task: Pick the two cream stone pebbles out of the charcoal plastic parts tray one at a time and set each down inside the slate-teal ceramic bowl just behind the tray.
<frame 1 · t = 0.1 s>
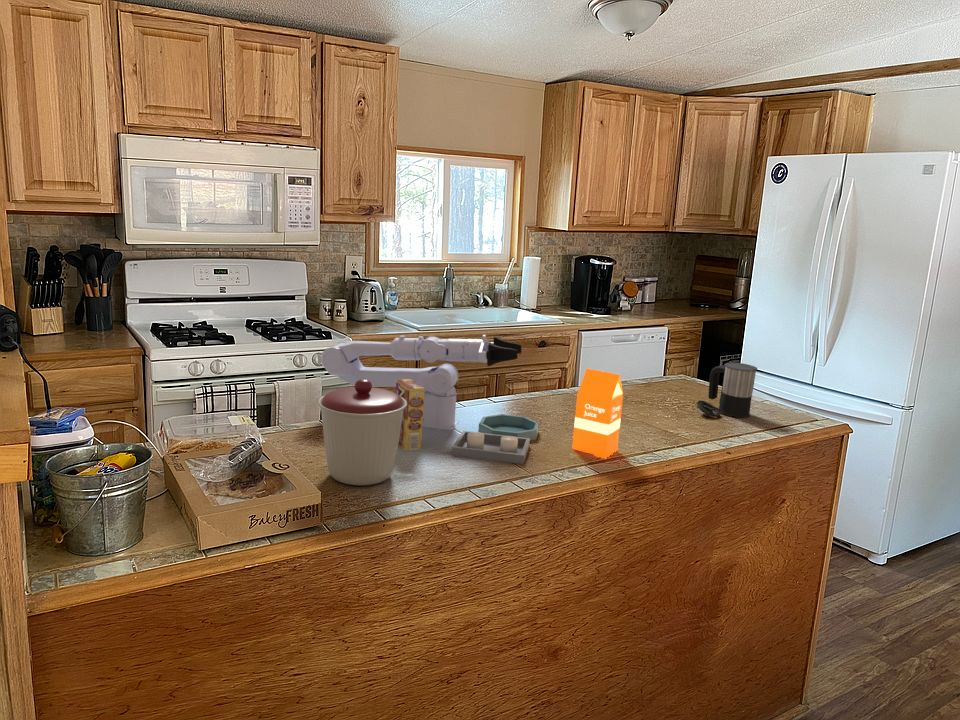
hand: (519, 351, 183), 22 cm above the table, tool horizontal, fingers open, 7 cm apart
canister: (360, 477, 154), on the table
bowl: (508, 434, 187), on the table
orange juice: (594, 451, 179), on the table
tray: (491, 452, 173), on the table
candy box: (407, 446, 175), on the table
pebble a: (475, 448, 174), resting on tray
pebble b: (508, 452, 173), resting on tray
milk frother: (723, 415, 219), on the table
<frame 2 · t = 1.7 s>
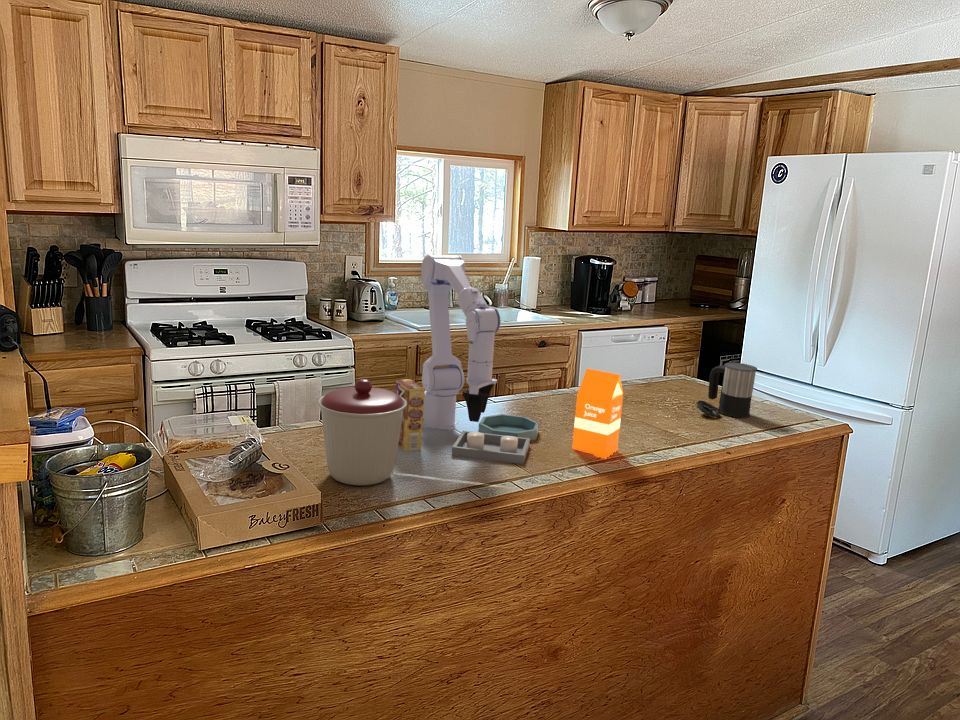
hand: (477, 416, 172), 8 cm above the table, tool pointing down, fingers open, 7 cm apart
nothing on the table moved.
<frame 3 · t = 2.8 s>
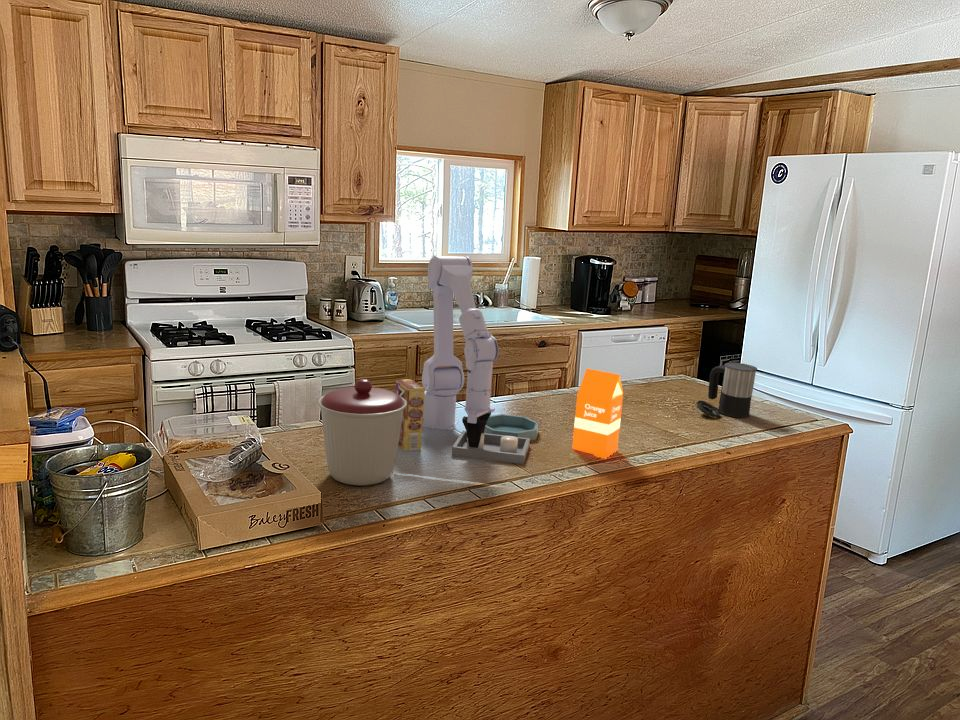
hand: (475, 443, 174), 2 cm above the table, tool pointing down, fingers closed on pebble a, 4 cm apart
pebble a: (475, 448, 174), resting on tray, touching gripper
everything else where it was.
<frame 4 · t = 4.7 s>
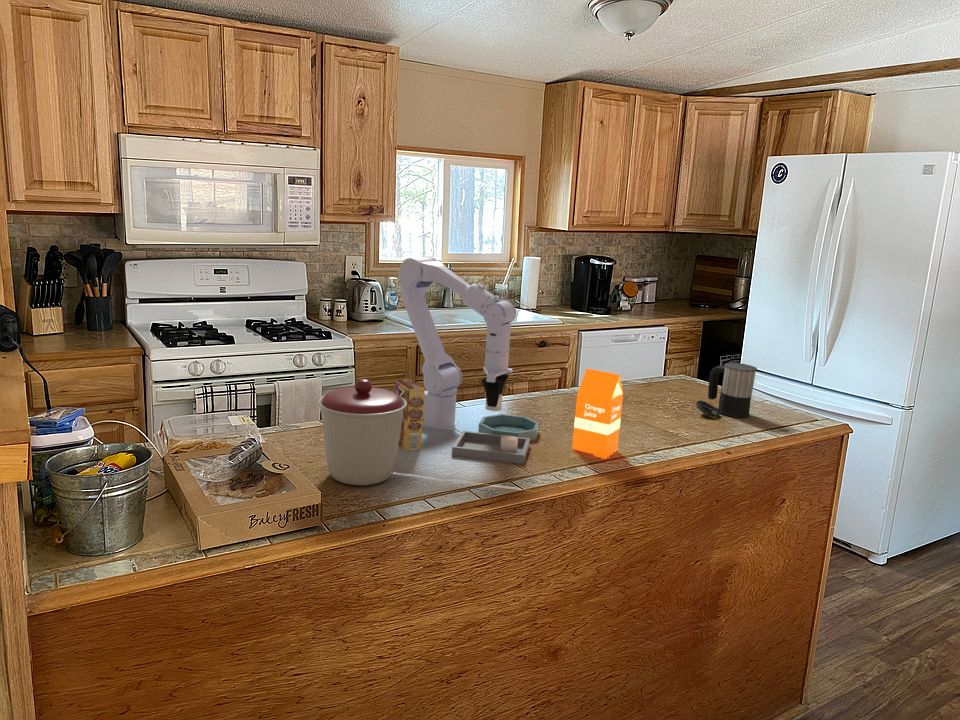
hand: (493, 403, 182), 9 cm above the table, tool pointing down, fingers closed on pebble a, 4 cm apart
pebble a: (493, 408, 182), point 8 cm above the table, touching gripper
everything else where it was.
when the fingers open (3 cm above the table, at t = 6.5 s): pebble a drops 2 cm, resting on bowl.
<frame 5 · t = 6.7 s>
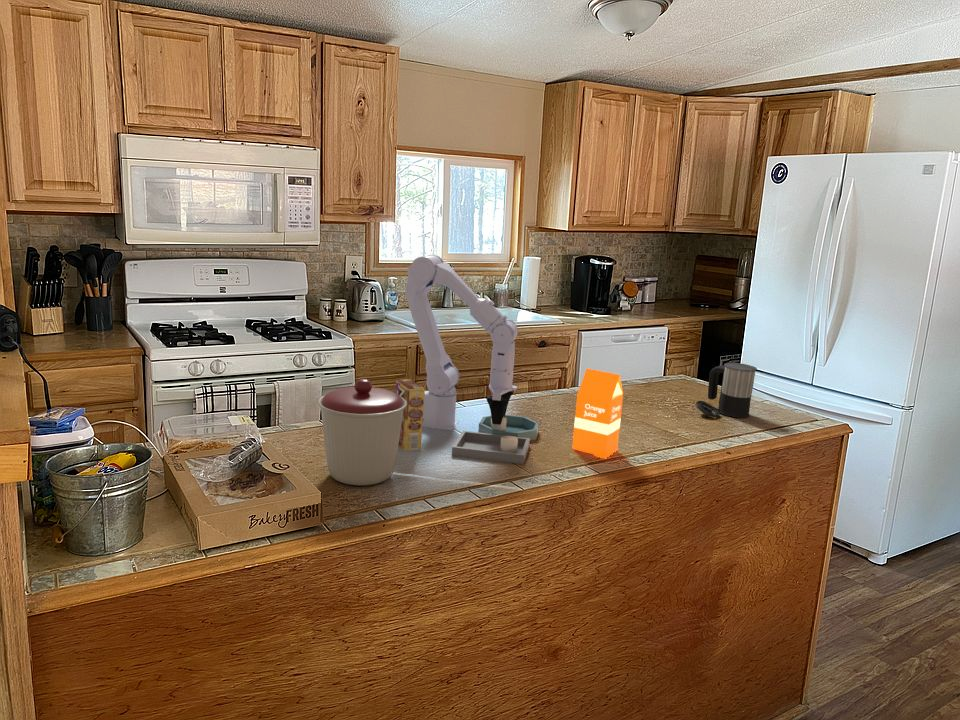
hand: (498, 420, 187), 3 cm above the table, tool pointing down, fingers open, 6 cm apart
pebble a: (497, 431, 188), point 1 cm above the table, touching bowl
everything else where it was.
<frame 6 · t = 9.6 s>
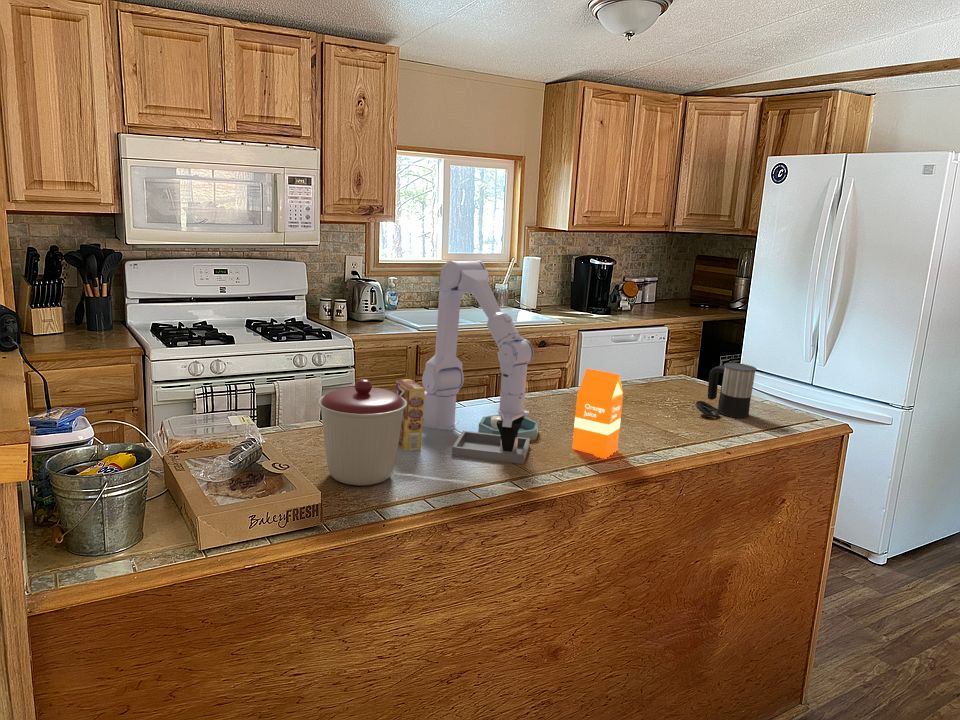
hand: (508, 447, 172), 2 cm above the table, tool pointing down, fingers closed on pebble b, 4 cm apart
pebble b: (508, 452, 173), resting on tray, touching gripper
everything else where it was.
when the fingers open (3 cm above the table, at t = 13.2 s): pebble b drops 2 cm, resting on bowl.
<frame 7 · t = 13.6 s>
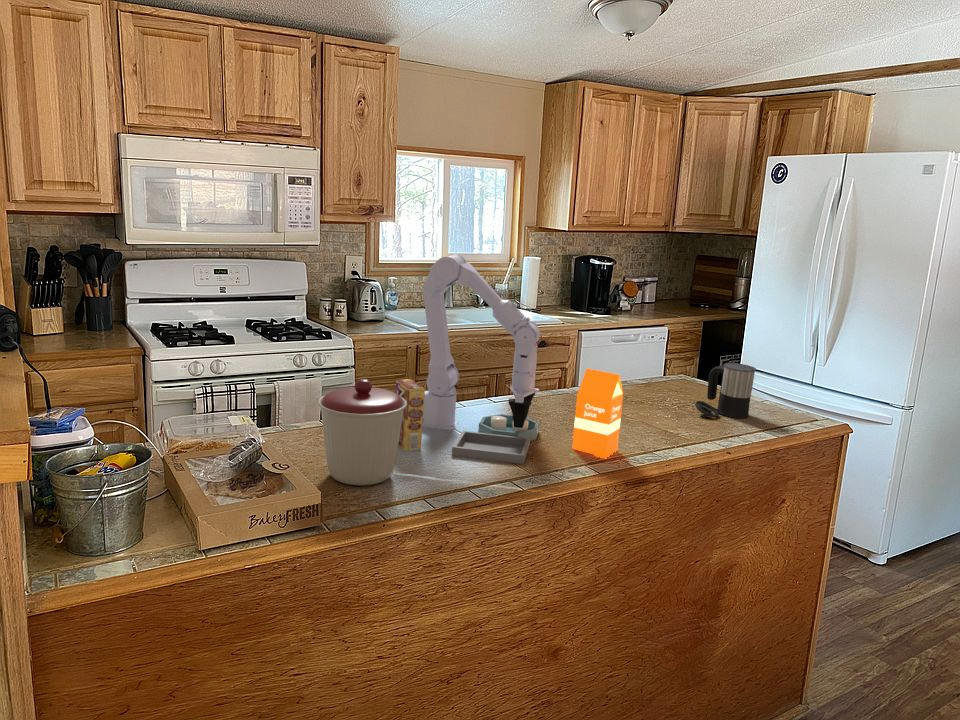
hand: (520, 422, 186), 3 cm above the table, tool pointing down, fingers open, 7 cm apart
pebble b: (519, 433, 187), resting on bowl
everything else where it was.
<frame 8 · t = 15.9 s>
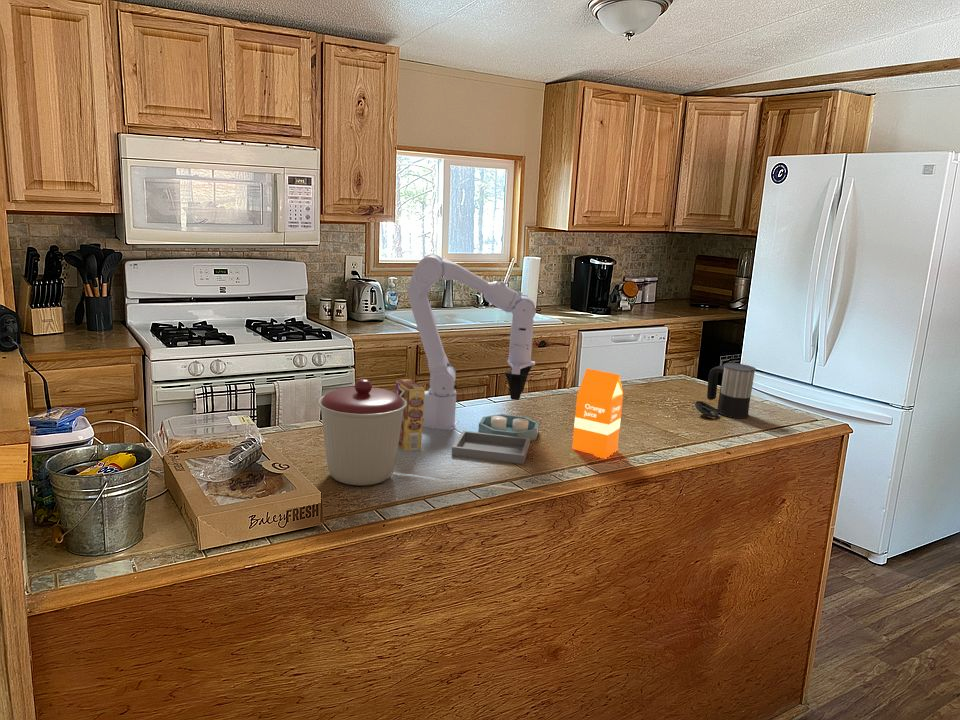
hand: (516, 395, 189), 9 cm above the table, tool pointing down, fingers open, 7 cm apart
at the end: pebble a inside the target area on the bowl (2.7 cm from its centre), point 0.5 cm above the bowl's base; pebble b inside the target area on the bowl (2.9 cm from its centre), point 0.5 cm above the bowl's base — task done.
